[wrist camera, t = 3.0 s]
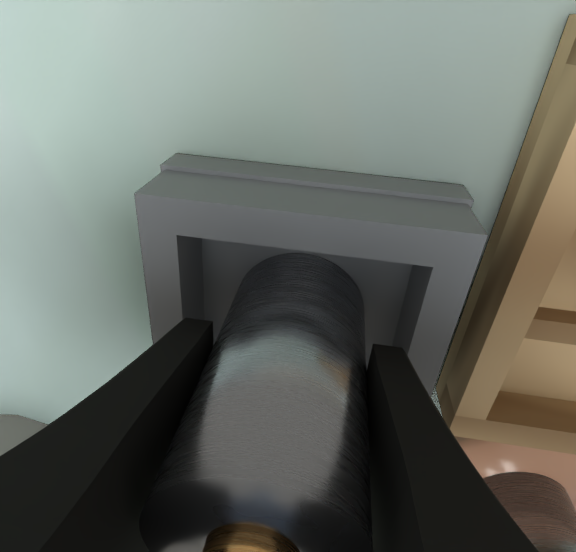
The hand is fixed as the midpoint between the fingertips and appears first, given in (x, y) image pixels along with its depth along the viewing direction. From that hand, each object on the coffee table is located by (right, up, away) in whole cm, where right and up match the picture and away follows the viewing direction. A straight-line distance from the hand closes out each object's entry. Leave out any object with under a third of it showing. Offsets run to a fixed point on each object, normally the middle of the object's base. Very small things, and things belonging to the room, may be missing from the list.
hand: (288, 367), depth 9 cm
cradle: (0, 0, +4) cm, 4 cm away
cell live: (0, +1, +2) cm, 2 cm away
